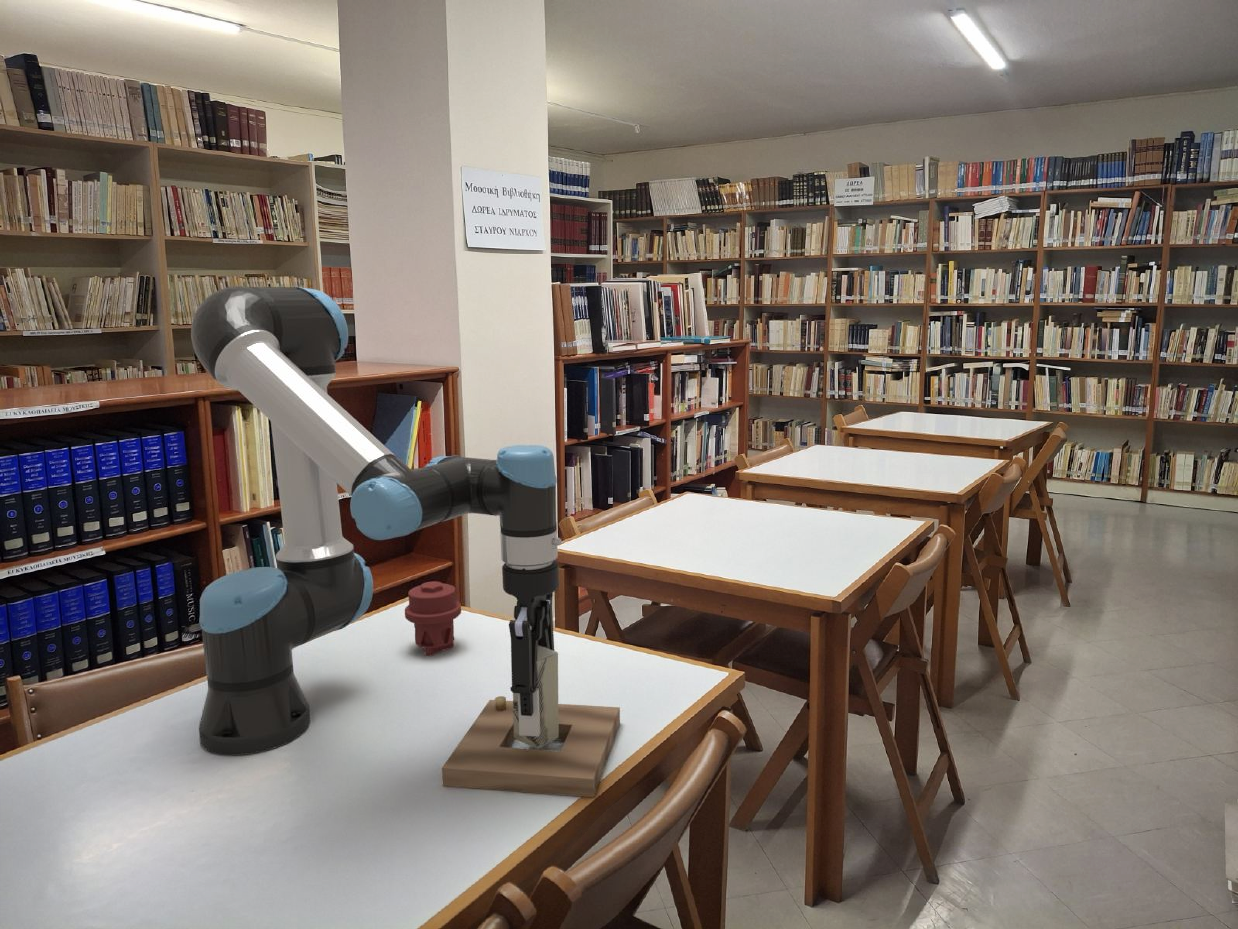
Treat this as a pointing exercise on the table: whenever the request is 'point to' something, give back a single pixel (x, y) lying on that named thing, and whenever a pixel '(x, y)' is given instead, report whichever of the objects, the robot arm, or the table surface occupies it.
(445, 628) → the mechanical component
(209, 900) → the table surface
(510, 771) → the socket board
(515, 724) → the box
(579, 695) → the table surface
